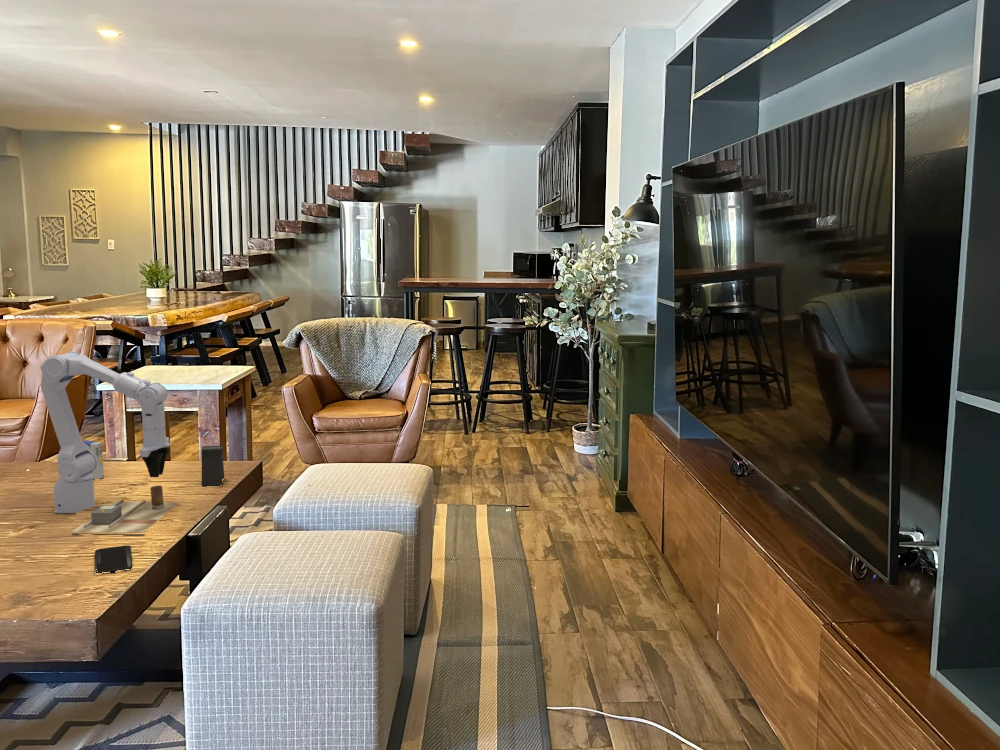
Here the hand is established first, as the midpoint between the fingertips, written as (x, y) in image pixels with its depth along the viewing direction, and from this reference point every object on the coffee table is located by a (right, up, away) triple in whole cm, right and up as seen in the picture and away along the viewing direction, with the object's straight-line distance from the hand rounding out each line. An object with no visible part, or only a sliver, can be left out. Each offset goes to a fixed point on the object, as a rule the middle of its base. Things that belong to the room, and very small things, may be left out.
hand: (156, 475), depth 214 cm
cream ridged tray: (-5, -11, -5) cm, 13 cm away
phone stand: (+5, -6, +28) cm, 30 cm away
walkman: (-35, -5, +31) cm, 47 cm away
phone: (+4, -16, -33) cm, 37 cm away
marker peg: (0, -9, +1) cm, 9 cm away
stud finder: (-9, -11, -9) cm, 17 cm away
